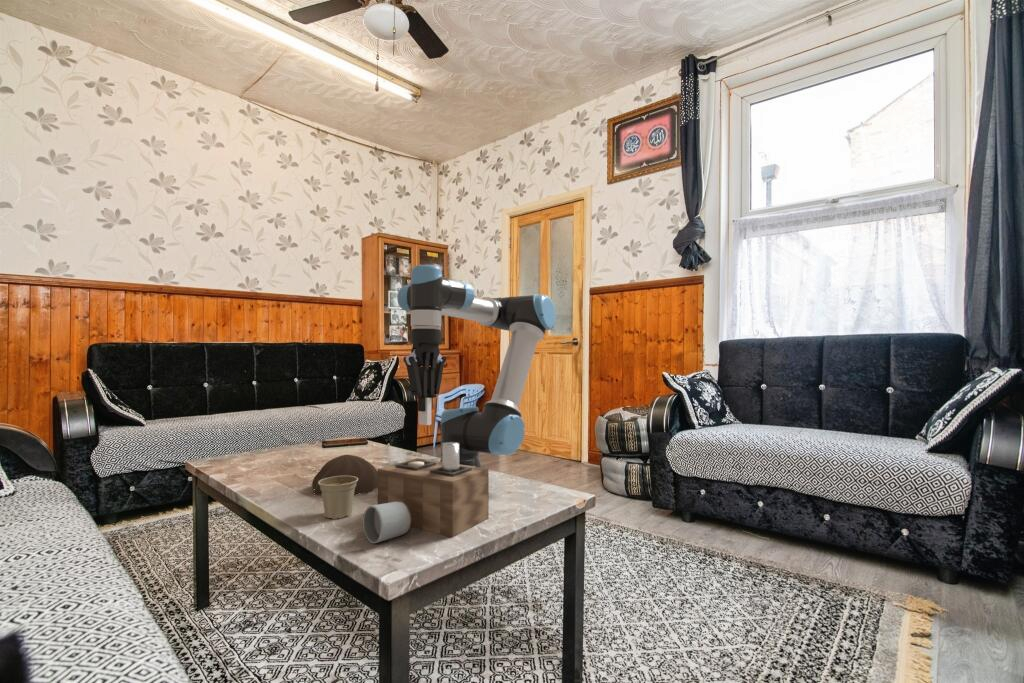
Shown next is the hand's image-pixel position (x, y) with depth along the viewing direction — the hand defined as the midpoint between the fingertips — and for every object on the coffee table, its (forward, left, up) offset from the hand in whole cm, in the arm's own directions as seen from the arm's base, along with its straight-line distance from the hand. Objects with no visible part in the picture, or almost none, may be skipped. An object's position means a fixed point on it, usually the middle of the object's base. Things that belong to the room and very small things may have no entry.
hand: (425, 424), depth 118 cm
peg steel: (0, +8, -15) cm, 17 cm away
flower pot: (+10, -20, -23) cm, 32 cm away
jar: (-13, 0, -23) cm, 26 cm away
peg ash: (0, -3, -21) cm, 21 cm away
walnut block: (0, +2, -23) cm, 23 cm away
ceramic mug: (+14, 0, -23) cm, 27 cm away
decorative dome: (-8, -38, -23) cm, 45 cm away
